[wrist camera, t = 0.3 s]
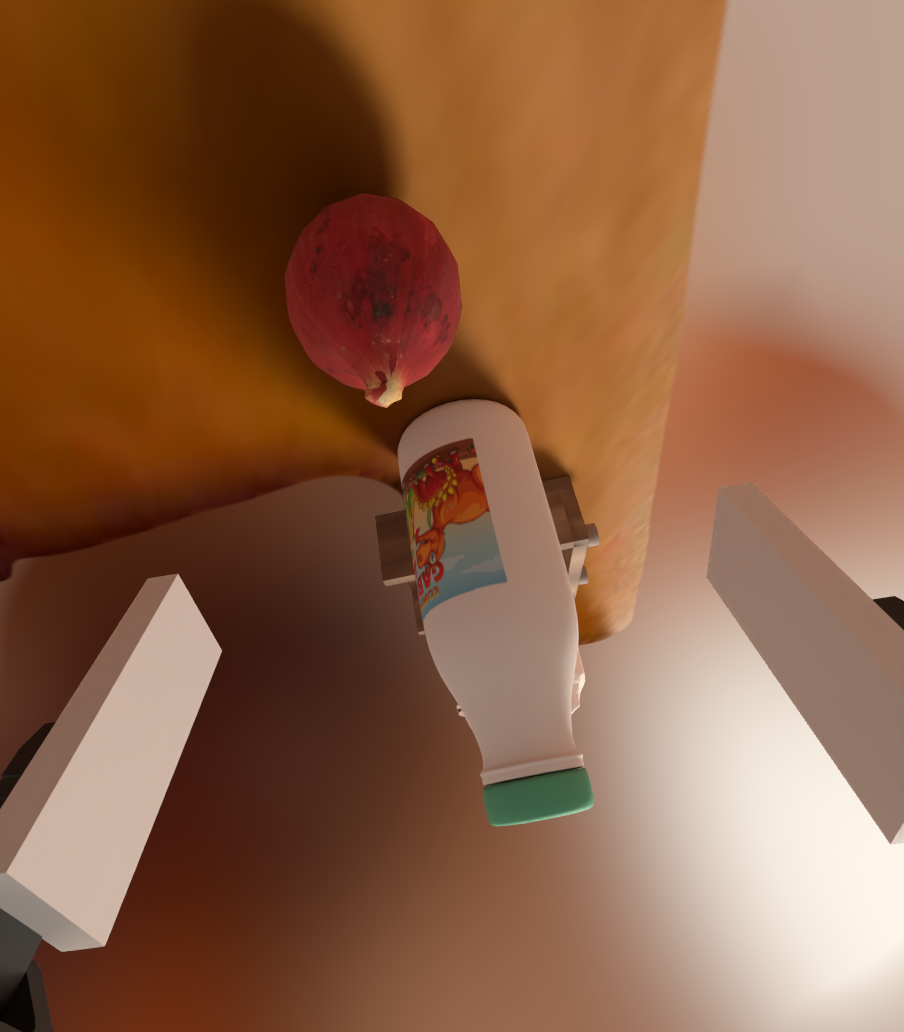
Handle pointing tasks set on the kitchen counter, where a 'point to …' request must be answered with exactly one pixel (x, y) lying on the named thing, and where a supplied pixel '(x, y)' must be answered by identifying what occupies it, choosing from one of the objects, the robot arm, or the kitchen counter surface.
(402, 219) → the onion
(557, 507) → the wooden tray
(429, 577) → the milk bottle
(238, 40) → the kitchen counter surface
